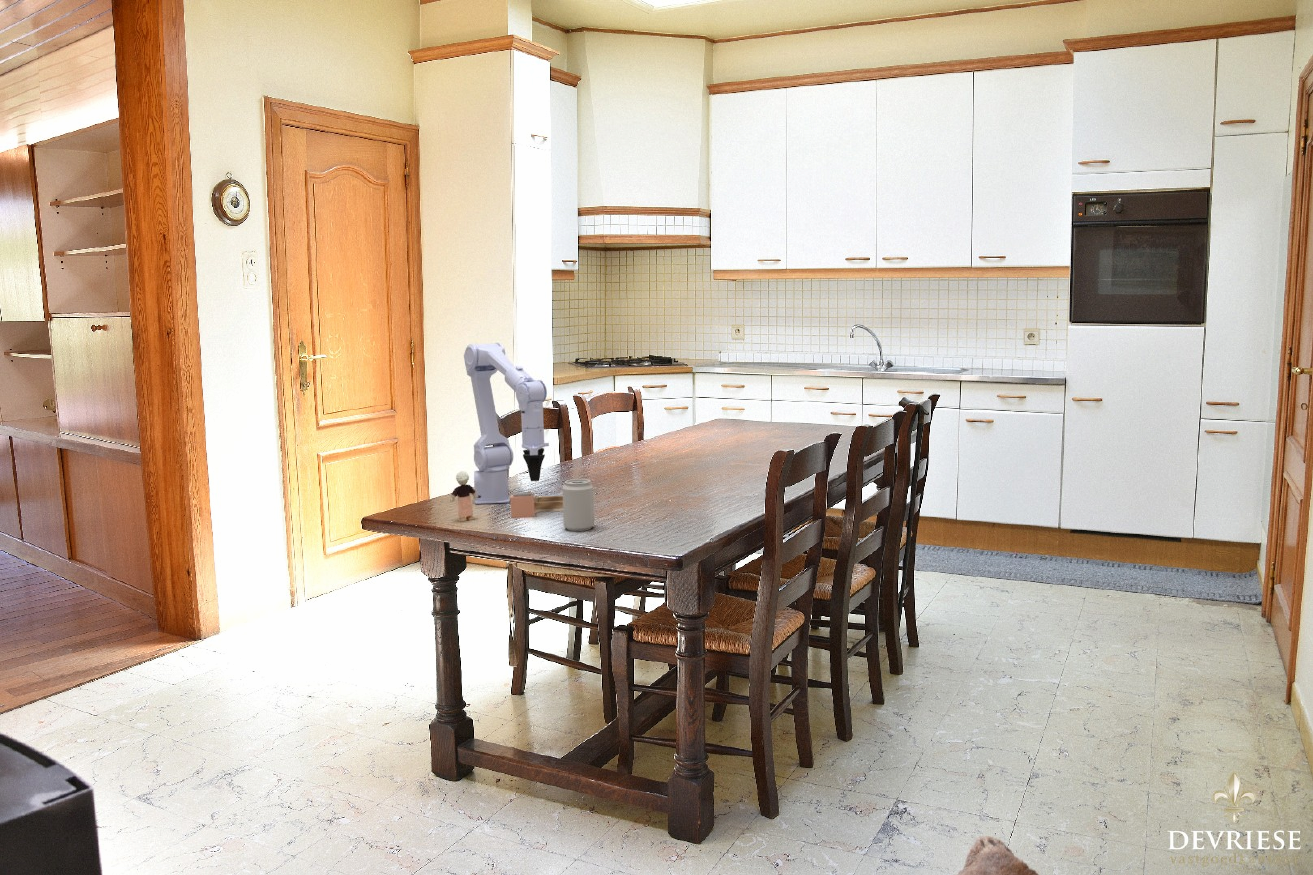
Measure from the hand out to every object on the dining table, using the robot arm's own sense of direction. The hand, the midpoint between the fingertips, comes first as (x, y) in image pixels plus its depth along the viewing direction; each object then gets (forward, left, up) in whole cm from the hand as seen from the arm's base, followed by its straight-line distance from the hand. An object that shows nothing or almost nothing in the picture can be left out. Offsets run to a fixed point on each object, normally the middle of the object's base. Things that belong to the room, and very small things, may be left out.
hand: (534, 478), depth 270 cm
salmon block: (-3, -4, -9) cm, 10 cm away
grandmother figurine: (-18, -5, -9) cm, 21 cm away
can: (+11, -21, -9) cm, 25 cm away
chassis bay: (+5, +5, -9) cm, 11 cm away
